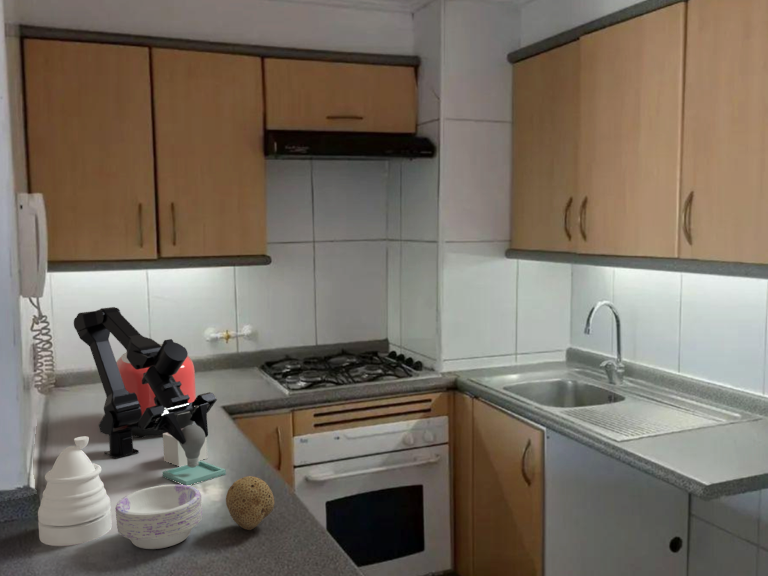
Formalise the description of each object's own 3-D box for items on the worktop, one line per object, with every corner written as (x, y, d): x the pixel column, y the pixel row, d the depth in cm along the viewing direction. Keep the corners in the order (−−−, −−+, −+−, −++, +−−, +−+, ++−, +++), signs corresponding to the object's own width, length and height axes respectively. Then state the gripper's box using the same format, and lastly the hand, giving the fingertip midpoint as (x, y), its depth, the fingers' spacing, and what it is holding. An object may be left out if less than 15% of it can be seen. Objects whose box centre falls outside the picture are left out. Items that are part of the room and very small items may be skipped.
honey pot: (107, 513, 147) (102, 427, 146) (116, 536, 136) (110, 442, 135) (37, 527, 141) (31, 437, 140) (41, 552, 130) (34, 454, 129)
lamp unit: (164, 461, 180) (162, 432, 179) (193, 452, 186) (192, 424, 185) (179, 466, 175) (177, 437, 175) (208, 458, 181) (207, 429, 181)
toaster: (204, 433, 204) (200, 352, 202) (118, 444, 196) (113, 360, 194) (189, 408, 234) (185, 337, 232) (113, 417, 225) (109, 344, 223)
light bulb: (186, 462, 172) (185, 421, 171) (210, 463, 171) (209, 422, 170) (175, 470, 166) (173, 428, 165) (200, 471, 165) (198, 428, 164)
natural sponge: (255, 514, 144) (253, 466, 143) (285, 525, 138) (283, 475, 138) (218, 529, 138) (215, 478, 137) (247, 542, 132) (245, 489, 131)
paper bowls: (103, 540, 134) (101, 499, 134) (178, 516, 145) (176, 477, 144) (141, 566, 123) (138, 521, 123) (218, 537, 134) (216, 496, 133)
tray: (162, 476, 168) (162, 471, 168) (201, 465, 176) (201, 460, 176) (186, 486, 161) (186, 481, 161) (225, 474, 169) (225, 469, 169)
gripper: (183, 398, 184) (213, 448, 178) (117, 415, 170) (147, 470, 164) (201, 372, 179) (232, 422, 173) (135, 386, 164) (166, 442, 158)
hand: (195, 439), depth 167 cm, fingers closed on light bulb, 6 cm apart
